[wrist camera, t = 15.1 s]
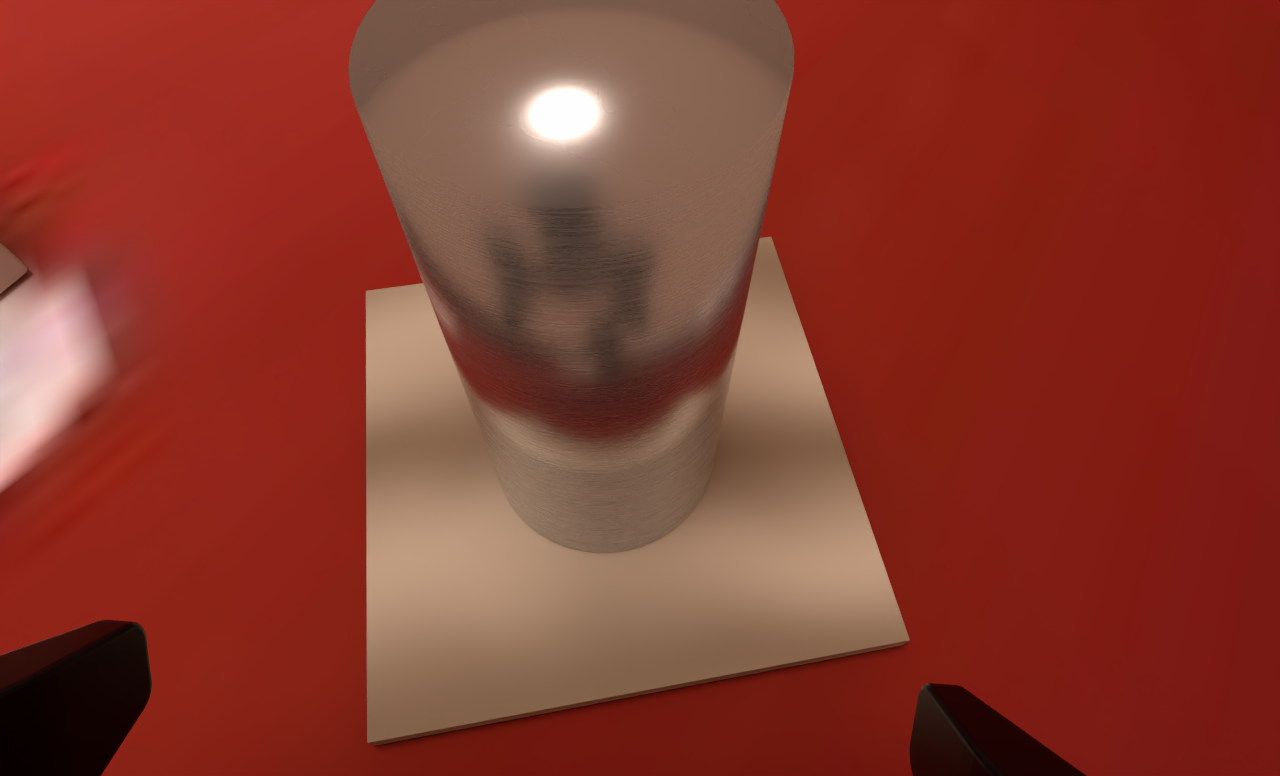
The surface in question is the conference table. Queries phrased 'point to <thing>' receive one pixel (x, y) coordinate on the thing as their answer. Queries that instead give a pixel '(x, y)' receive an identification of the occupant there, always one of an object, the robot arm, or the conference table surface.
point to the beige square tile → (604, 582)
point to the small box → (9, 268)
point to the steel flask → (583, 230)
